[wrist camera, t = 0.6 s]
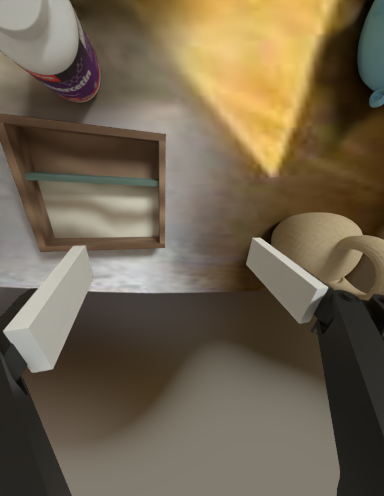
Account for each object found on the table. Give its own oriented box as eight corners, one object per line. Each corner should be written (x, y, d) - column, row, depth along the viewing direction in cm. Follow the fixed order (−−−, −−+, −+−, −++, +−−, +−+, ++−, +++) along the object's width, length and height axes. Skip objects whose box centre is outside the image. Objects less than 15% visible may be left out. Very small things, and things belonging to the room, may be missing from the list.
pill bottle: (59, 109, 26) (-22, 63, 13) (22, 32, 22) (-143, -136, 9) (112, 98, 27) (81, 45, 14) (85, 21, 23) (10, -146, 10)
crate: (14, 119, 25) (-11, 112, 21) (163, 137, 30) (165, 134, 27) (52, 241, 34) (40, 251, 30) (163, 239, 39) (164, 247, 36)
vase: (256, 211, 42) (434, 296, 16) (315, 196, 44) (561, 249, 18) (256, 265, 50) (372, 380, 24) (305, 250, 52) (463, 341, 26)
